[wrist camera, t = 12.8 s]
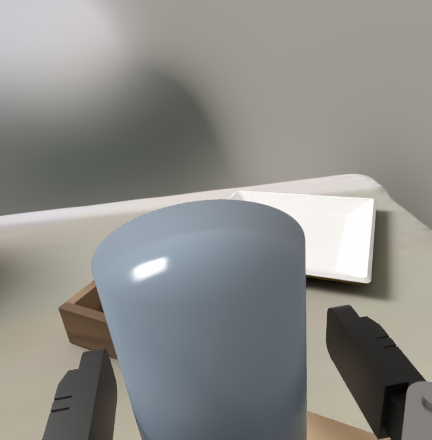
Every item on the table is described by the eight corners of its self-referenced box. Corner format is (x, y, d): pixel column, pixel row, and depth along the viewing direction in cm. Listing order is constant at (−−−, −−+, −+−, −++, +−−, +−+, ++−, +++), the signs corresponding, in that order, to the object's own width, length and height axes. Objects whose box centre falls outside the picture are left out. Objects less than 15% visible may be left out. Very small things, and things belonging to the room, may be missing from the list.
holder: (180, 382, 26) (173, 343, 24) (69, 342, 30) (58, 307, 29) (240, 293, 34) (238, 261, 33) (146, 273, 39) (140, 243, 37)
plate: (236, 202, 54) (236, 189, 54) (375, 212, 47) (376, 197, 46) (177, 270, 39) (174, 253, 38) (368, 301, 32) (370, 281, 31)
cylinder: (240, 678, 13) (170, 349, 6) (154, 536, 17) (58, 248, 10) (335, 542, 16) (350, 230, 10) (243, 450, 20) (211, 187, 14)
